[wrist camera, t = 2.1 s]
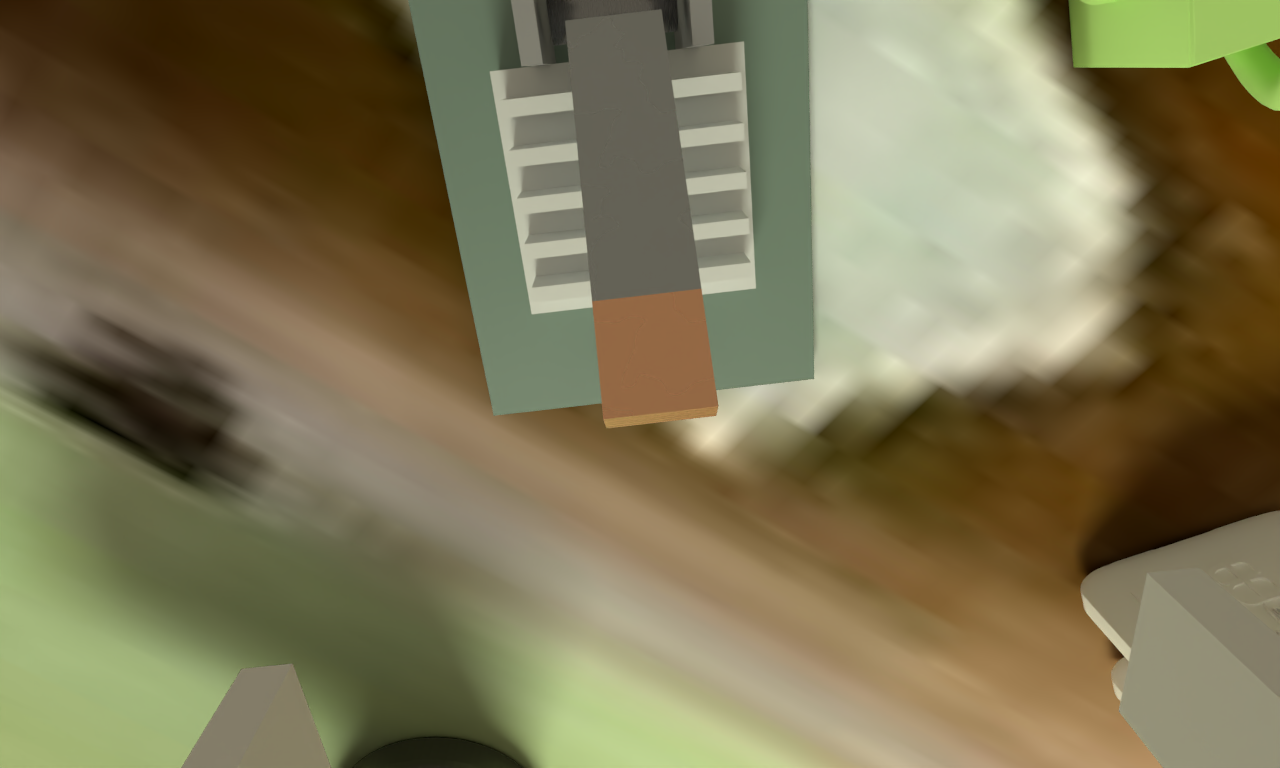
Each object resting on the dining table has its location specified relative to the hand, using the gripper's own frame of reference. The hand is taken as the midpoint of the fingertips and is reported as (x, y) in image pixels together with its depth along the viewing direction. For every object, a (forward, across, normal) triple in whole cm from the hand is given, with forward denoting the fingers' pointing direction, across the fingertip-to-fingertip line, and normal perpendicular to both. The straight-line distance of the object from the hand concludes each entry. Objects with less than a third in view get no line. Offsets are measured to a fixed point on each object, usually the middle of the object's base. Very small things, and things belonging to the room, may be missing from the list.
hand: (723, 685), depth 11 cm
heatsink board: (+31, 0, +4) cm, 31 cm away
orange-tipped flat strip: (+19, 0, +4) cm, 19 cm away
